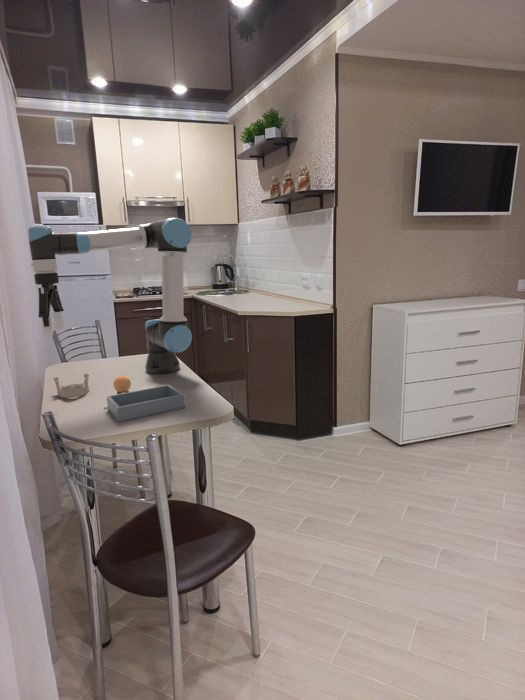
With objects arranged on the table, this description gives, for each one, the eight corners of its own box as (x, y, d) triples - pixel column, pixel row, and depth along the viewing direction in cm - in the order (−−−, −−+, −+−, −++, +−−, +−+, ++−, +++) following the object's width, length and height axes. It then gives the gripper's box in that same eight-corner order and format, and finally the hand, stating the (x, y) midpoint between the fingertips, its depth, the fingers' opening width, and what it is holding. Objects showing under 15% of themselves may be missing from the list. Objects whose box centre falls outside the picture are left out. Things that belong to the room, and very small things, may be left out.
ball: (129, 388, 167) (127, 372, 166) (133, 392, 162) (131, 376, 161) (112, 391, 165) (110, 375, 163) (116, 395, 159) (114, 379, 158)
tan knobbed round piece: (121, 398, 167) (120, 389, 166) (132, 398, 166) (131, 389, 165) (115, 402, 163) (114, 392, 162) (126, 402, 161) (125, 393, 161)
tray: (170, 396, 166) (168, 384, 165) (185, 407, 153) (184, 394, 152) (108, 409, 155) (106, 396, 154) (118, 422, 143) (117, 408, 142)
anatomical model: (54, 400, 165) (51, 373, 167) (56, 403, 175) (53, 378, 176) (92, 394, 170) (88, 367, 171) (92, 397, 180) (88, 373, 181)
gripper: (45, 271, 171) (53, 327, 175) (21, 274, 146) (32, 339, 151) (66, 270, 172) (73, 326, 176) (46, 273, 148) (55, 337, 152)
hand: (54, 332), depth 164 cm, fingers open, 13 cm apart
